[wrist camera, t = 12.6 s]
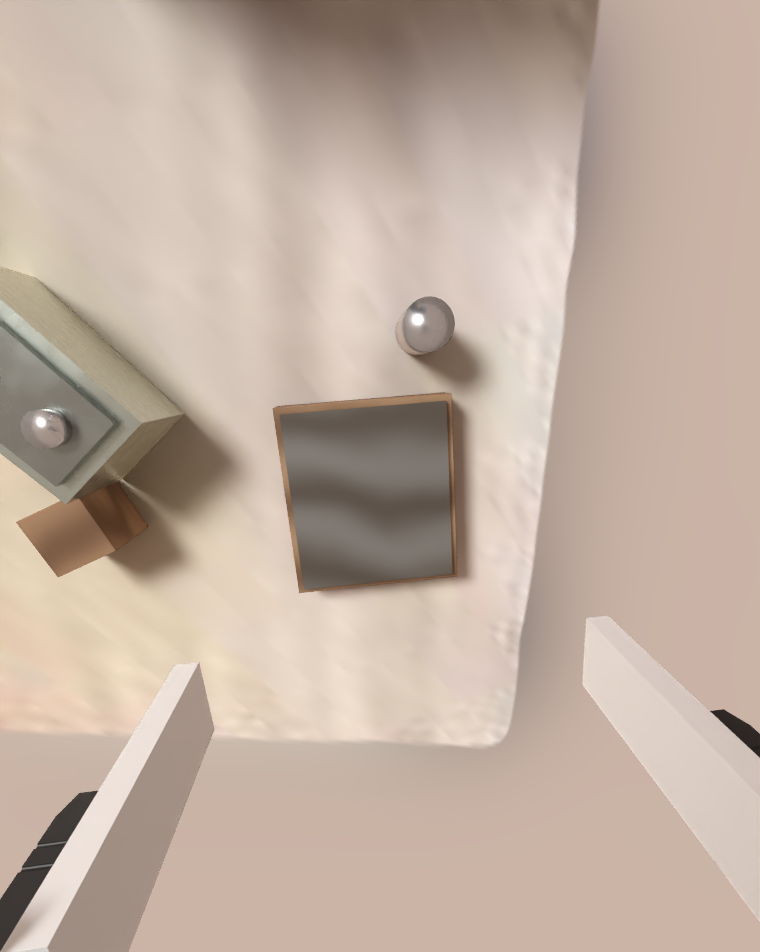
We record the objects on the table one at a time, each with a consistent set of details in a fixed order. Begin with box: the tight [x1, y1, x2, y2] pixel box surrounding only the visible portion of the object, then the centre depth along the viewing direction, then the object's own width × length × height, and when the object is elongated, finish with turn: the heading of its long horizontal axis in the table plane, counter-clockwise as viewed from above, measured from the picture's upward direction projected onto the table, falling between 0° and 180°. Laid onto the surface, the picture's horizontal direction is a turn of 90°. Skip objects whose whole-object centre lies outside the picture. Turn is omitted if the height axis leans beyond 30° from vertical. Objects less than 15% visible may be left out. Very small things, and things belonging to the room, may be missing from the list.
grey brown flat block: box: [273, 392, 457, 593], centre depth 34 cm, size 16×14×3 cm
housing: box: [0, 267, 185, 504], centre depth 27 cm, size 8×14×8 cm, turn 44°
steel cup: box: [396, 297, 455, 355], centre depth 30 cm, size 4×4×5 cm
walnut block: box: [16, 481, 148, 577], centre depth 32 cm, size 5×5×5 cm
